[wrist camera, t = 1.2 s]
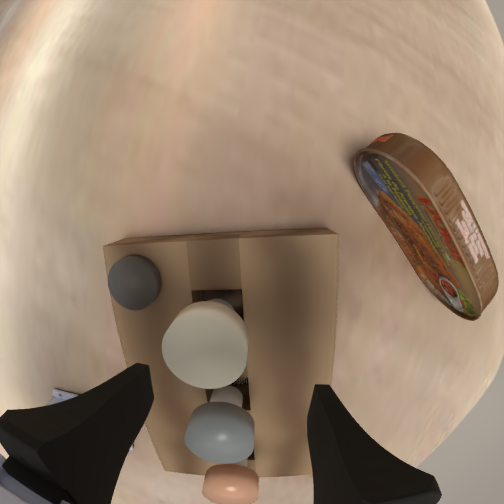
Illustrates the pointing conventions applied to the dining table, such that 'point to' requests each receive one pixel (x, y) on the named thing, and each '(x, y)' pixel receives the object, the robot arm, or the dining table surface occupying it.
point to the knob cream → (206, 344)
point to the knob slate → (221, 428)
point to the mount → (256, 320)
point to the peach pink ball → (231, 483)
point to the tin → (429, 221)
